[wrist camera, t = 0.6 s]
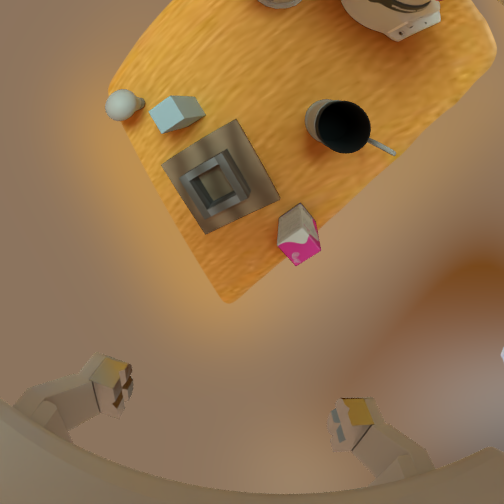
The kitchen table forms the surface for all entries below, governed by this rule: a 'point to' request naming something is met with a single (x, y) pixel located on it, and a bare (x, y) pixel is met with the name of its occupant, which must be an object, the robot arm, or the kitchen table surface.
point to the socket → (221, 178)
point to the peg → (176, 113)
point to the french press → (280, 3)
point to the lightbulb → (123, 104)
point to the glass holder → (340, 126)
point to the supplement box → (298, 235)
